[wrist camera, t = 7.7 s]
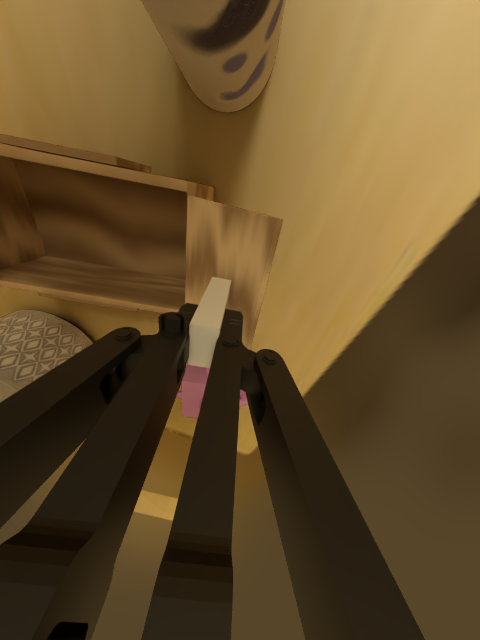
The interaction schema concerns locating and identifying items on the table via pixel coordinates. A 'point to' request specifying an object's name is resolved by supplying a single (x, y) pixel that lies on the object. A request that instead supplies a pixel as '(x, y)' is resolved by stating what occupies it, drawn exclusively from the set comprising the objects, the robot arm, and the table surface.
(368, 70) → the table surface
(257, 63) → the container
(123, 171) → the carton
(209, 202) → the flap
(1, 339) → the planter
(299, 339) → the table surface
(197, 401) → the teapot
